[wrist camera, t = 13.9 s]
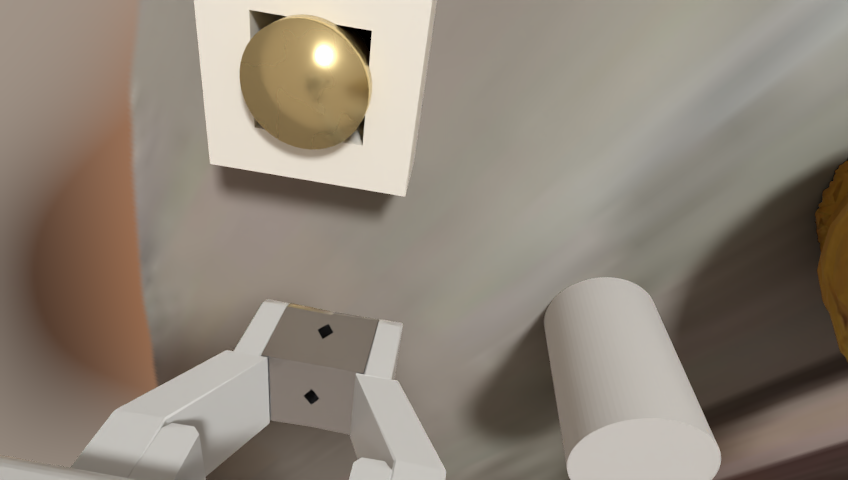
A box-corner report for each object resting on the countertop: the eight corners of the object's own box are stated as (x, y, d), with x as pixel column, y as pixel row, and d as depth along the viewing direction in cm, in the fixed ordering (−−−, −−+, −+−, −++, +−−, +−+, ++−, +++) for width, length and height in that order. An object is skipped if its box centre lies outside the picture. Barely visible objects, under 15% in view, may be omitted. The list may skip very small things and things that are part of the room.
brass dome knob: (380, 119, 31) (363, 158, 26) (279, 103, 31) (243, 138, 26) (391, 9, 27) (372, 31, 23) (276, -9, 27) (235, 8, 23)
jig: (414, 159, 33) (405, 196, 28) (244, 131, 33) (210, 163, 28) (441, -33, 27) (435, -22, 22) (233, -69, 27) (187, -64, 22)
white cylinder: (566, 370, 42) (594, 516, 32) (527, 299, 38) (545, 440, 28) (668, 340, 39) (735, 490, 29) (637, 261, 35) (701, 401, 25)
